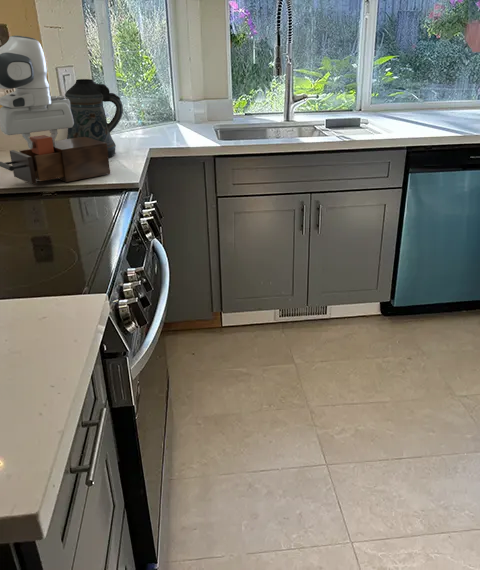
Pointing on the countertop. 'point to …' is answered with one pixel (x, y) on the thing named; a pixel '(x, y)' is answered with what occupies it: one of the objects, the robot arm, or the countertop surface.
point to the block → (42, 144)
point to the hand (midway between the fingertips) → (42, 146)
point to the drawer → (35, 165)
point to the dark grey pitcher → (93, 112)
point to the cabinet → (83, 158)
